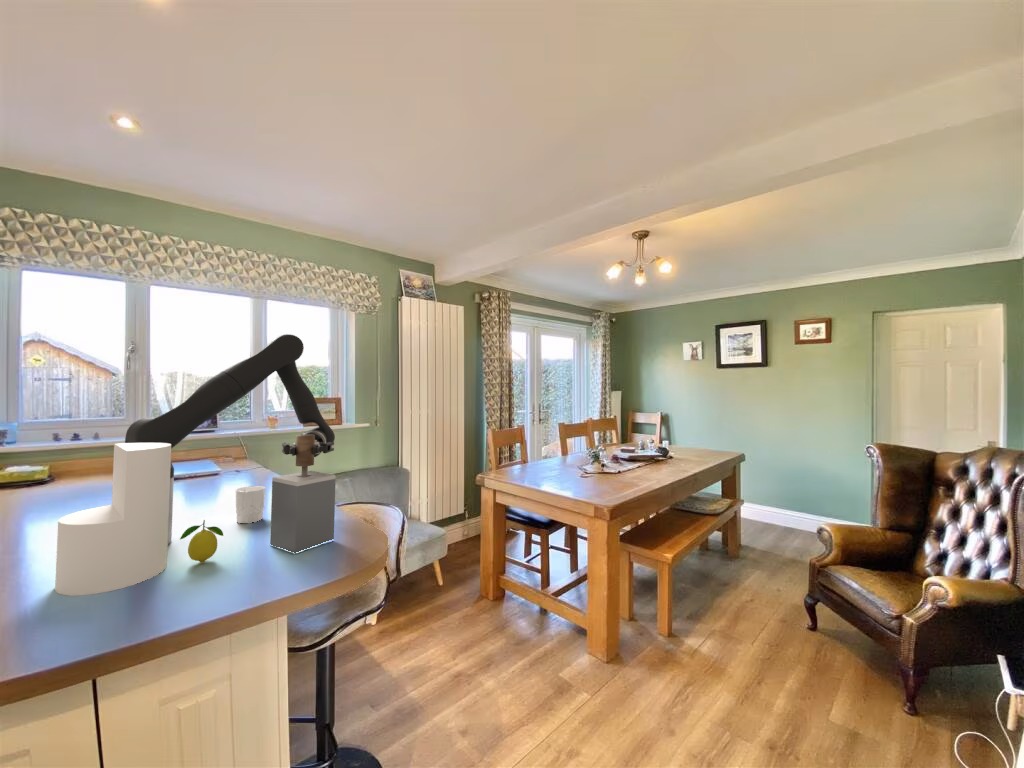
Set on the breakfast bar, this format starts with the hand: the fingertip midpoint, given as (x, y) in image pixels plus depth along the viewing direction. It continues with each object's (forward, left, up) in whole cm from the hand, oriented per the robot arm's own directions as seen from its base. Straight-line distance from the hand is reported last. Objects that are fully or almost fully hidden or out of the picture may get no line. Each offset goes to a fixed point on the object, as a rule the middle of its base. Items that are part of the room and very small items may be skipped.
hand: (304, 451), depth 107 cm
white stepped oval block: (-31, +18, -25) cm, 44 cm away
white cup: (+5, +34, -25) cm, 43 cm away
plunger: (+2, +2, -23) cm, 23 cm away
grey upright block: (+2, +2, -25) cm, 25 cm away
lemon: (-18, +10, -25) cm, 33 cm away
